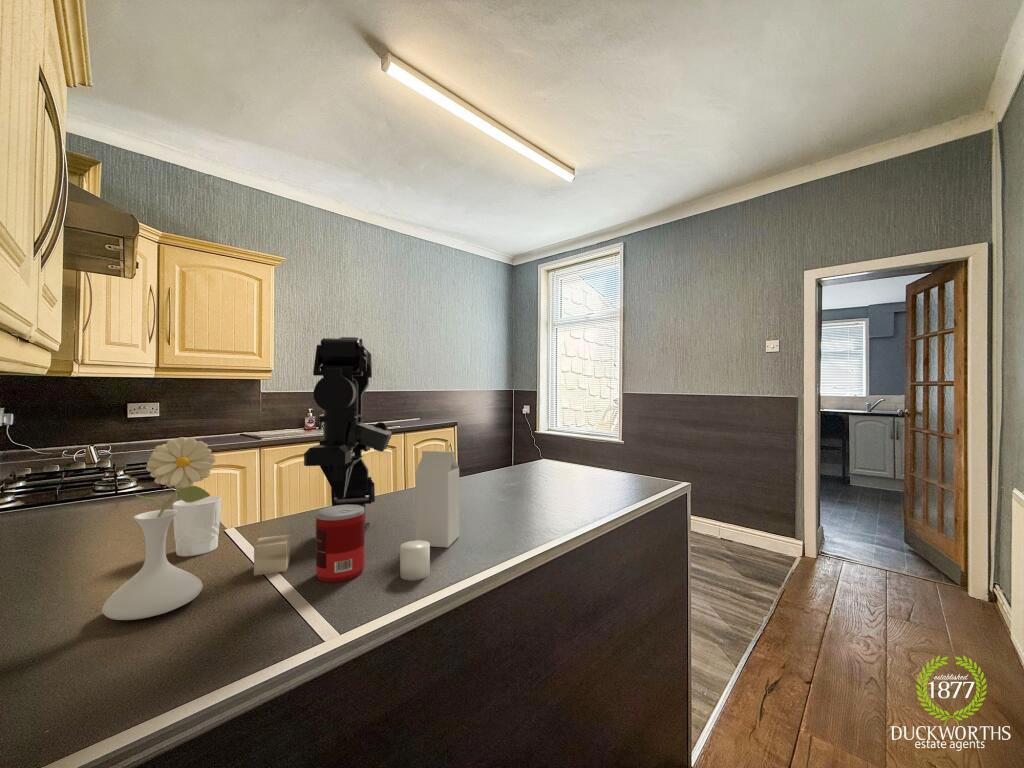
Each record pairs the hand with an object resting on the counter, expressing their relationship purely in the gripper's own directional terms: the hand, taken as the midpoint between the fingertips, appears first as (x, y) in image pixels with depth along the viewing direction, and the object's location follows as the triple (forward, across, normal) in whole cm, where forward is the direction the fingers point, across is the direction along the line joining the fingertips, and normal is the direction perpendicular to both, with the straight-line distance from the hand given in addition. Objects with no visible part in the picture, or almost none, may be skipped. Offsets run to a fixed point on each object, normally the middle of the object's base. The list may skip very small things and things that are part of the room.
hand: (340, 498), depth 75 cm
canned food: (+13, 0, 0) cm, 13 cm away
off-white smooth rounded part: (+13, -2, -13) cm, 18 cm away
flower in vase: (+13, -9, +23) cm, 28 cm away
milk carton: (+13, +14, -16) cm, 25 cm away
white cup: (+13, +15, +32) cm, 38 cm away
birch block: (+13, +4, +13) cm, 19 cm away
